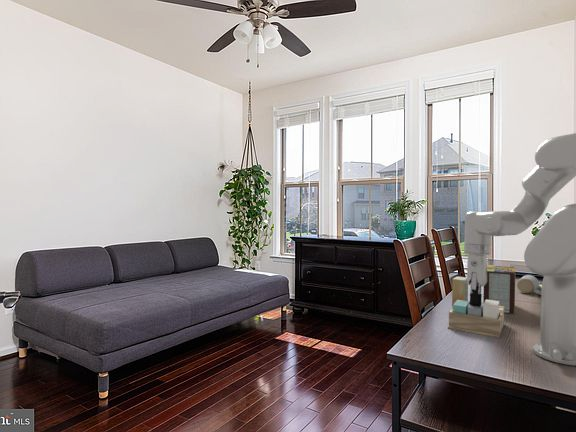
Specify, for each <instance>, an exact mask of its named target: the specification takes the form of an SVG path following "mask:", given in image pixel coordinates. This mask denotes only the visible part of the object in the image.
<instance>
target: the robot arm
mask: <svg viewBox="0 0 576 432" xmlns="http://www.w3.org/2000/svg"><path fill="white" fill-rule="evenodd" d="M534 154H535V155H534V161H535V163H536V166H534V168H533V169H532V170H531V171H530V172H529V173H528V174H527V175H526V176H525V177H524V178H523V179H522V181H521V186H522V188H523V190H524V191H525V192H524V196H523V197H522V199H521V201H519V203H518V204H516V205H515V207H513V208H512V209H511V210H509V211H508V210H507V211H506V210H500V211H481V210H480V211H478V210H477V211H475V210H474V211H473V210H472V211H468V212H466V213H465V216H464V244H463V245H464V246H463V247H464V249H463V253H464V254H466V255H467V260H466V261H467V264H466V265H467V266H466V278H467V283H468V286H469V287H470V292H469V302H470V305H472V306H479V307H480V306H481V303H482V296H483V294H482V287H483V288H484V286H485V284H486V283H487V265H488V256H490V255H491V241H492V239H491V238H492V237H505V236H517V235H519V234H520V235H521V234H522V233H523V232H525V231H526V230H527V229H529V228H530V227H531V226H532V225H533V224H535V223H536V222H537V221H538V220H539V219H540V218H541V216H543V214H544V213H545V211H546V209H547V207H548V206H549V204H550V201H551V199H552V198H553V197H554V196H555V195H556V194H558V193H559V192H560V191H561V190H562V189H563V188H564V187H565V186H566V185H567V184H569V182H571V181H572V180H573V179H575V178H576V132H574V133H569V134H563V135H559V136H558V135H557V136H553V137H551V138H548V139H546V140H545V141H543V142H542V143H541V144H540V145H539V146H538V147H537V149H536V151H535V153H534ZM523 258H524V259H523V260H524V264H525V265H526V267H527V268H528V269H529V270H530V271H531V272H532V273H534V274H536V275H538V276H542V277H543V279H542V283H541V288H542V293H541V295H540V325H539V326H540V327H539V328H540V329H539V331H540V333H539V337H540V338H539V343H536V344H534V345H533V346H532V351H533V353H534V354H535V355H537V356H539V357H540V358H542V359H545V360H548V361H551V362H554V363H558V364H562V365H565V366H566V365H568V366H575V367H576V203H571V204H567V205H565V206H562V207H561V208H558V210H557V211H555V212H554V213H553V214H551V216H550V217H549V218H548V219H547V220H546V221H545V223H544V224H543V225H542V227H541V228H540V229H539V230H538V232H536V234H535V236H533V238H532V239H531V240H530V241H529V243H528V244H527V246H526V247H525V250H524V253H523Z"/></svg>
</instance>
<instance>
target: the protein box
mask: <svg viewBox="0 0 576 432" xmlns="http://www.w3.org/2000/svg"><path fill="white" fill-rule="evenodd" d="M482 296H483V302H482V303H484V302H485V300H486V299H487V300H494V301H499V306H504V314H509V315H516V314H515V310H516V309H515V308H516V306H515V305H516V303H515V302H516V269H515V267H514V266H506V265H505V266H503V265H502V266H501V265H490V264H487V283H486V284H485V286H483V294H482Z"/></svg>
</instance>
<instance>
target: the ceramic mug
mask: <svg viewBox="0 0 576 432" xmlns="http://www.w3.org/2000/svg"><path fill="white" fill-rule="evenodd" d="M516 287H517V289H518V290H519V292H521V293H523V294H532V293H535V294H537V295H539V296H541V293H542V287H540V282H539V279H538V278H537V277H535V276H534V275H532V274H527V275H523V276H522V277H521V278H519V279H518V280H517V282H516Z"/></svg>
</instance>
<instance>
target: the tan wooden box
mask: <svg viewBox="0 0 576 432" xmlns="http://www.w3.org/2000/svg"><path fill="white" fill-rule="evenodd" d="M457 301H462V300H457ZM464 302H469V305H470V300H468V301H464ZM481 304H484V303H483V302H481ZM504 324H505V313H504V306H499V318H498V319H492V318H486V317H480V316H474V315H467V314H461V313H455V312H453V308H452V307H451V309H450V311H449V312H448V325H447V329H448V330H455V331H460V332H465V333H470V334H475V335H481V336H486V337H487V336H488V337H491V338H496V339H497V338H498V339H500V338H501V335H502V332H503V328H504Z"/></svg>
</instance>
